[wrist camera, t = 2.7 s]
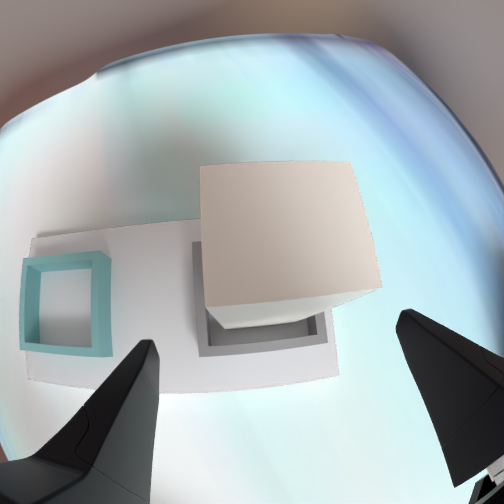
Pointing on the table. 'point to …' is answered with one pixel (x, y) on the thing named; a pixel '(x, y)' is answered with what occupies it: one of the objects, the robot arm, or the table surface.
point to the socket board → (151, 316)
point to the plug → (283, 241)
